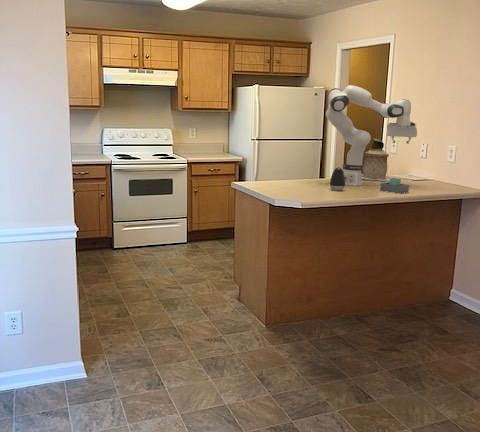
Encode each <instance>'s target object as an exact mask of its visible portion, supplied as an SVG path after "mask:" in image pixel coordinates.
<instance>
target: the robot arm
mask: <svg viewBox="0 0 480 432" xmlns="http://www.w3.org/2000/svg"><path fill="white" fill-rule="evenodd" d="M327 101H328V105H329V107H328V108H327V110H326V111H325V117H326V119H328V121H329V122H330V124H331V125H332V126H333V127H335V129H336V130H337V131H338V132H339V133H340V134H341V136H342V139H343V141H344V143H347V145H351V146H350V149H349V151H348V152H347V155H346V163H345V164H342V165H341V166H342V170H343V172H344V176H345V186H352V187H356V186H363V179H362V174H363V167H364V164H363V161H364V153H365V150H366V148H367V146H368V144H370V142H371V137H372V136H371V134H370V133H369V132H368V131H366V130H363V129H357V128H356V127H355V126H354V123H353V121H352V119H350V118H349V117H348V116H347V114H346V113H345V112H344V111H343V110H345V108H346V107H347V106H348V105H349V104H350V103H353V104H355V105H357V106H360V107H364V108H368V109H371V110H372V111H375V112H377V113H378V114H379V116H380V117H382V118H384V119H388V118H389V119H394V118H395V119H396V122H389V123H387V125H386V126H387V127H386V128H387V129H386V136H388V137H390V138H391V140H392V144H396V140H395V139H394V138H395V137H402V138H408V140H406V144H410V141H411V140H412V138H416V137H417V136H418V129H417V123H416V122H413V121H411V120H410V119H411V111H412V102H411V100H409V99H406V98H405V99H404V98H400V99H399V100H397V101H395V102H392V103H381V102H379V101H377V100H375V99H373V95H372V93H371V92H370V91H368V90H367V89H364V88H362V87H360V86H358V85H352V84H349V85H347V86H345V88H344V90H341V89H340V88H337V87H335V88H331V89H330V90H329V92H328V93H327Z"/></svg>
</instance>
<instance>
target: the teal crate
mask: <svg viewBox="0 0 480 432" xmlns="http://www.w3.org/2000/svg"><path fill="white" fill-rule="evenodd" d="M401 180H402V179H401V178H397V177H392V178H391V177H390V181H389V182H390V184H389V185H396V186H400V184H402V183H401Z"/></svg>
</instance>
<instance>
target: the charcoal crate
mask: <svg viewBox="0 0 480 432" xmlns="http://www.w3.org/2000/svg"><path fill="white" fill-rule="evenodd" d="M389 184H390V181H389V182H381V183H380V188H379V191H380V192H385V191H388V192H387V193H391V192H395V193H394V194H397V193H402V194H405V193H404V192H408V193H409V190H410V184H405V183H400V186H396V185H389Z"/></svg>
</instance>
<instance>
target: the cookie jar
mask: <svg viewBox="0 0 480 432" xmlns="http://www.w3.org/2000/svg"><path fill="white" fill-rule="evenodd" d="M372 140H373V141H372V143H371V148H370V149H369V150H368V151H364V153H365V155H363V169H362V180H365V181H366V180H368V181H377V182H378V181H380V182H385V181H389V182H390V179H391V178H390V177H389V176H388V175H387V172H388V158H389V156H390V155H389V153H387V151H385V150H384V147H385V143H384V142H383V141H382V140H381V139H379V138H377V139H376V138H375V137H373V138H372ZM389 178H390V179H389Z"/></svg>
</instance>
